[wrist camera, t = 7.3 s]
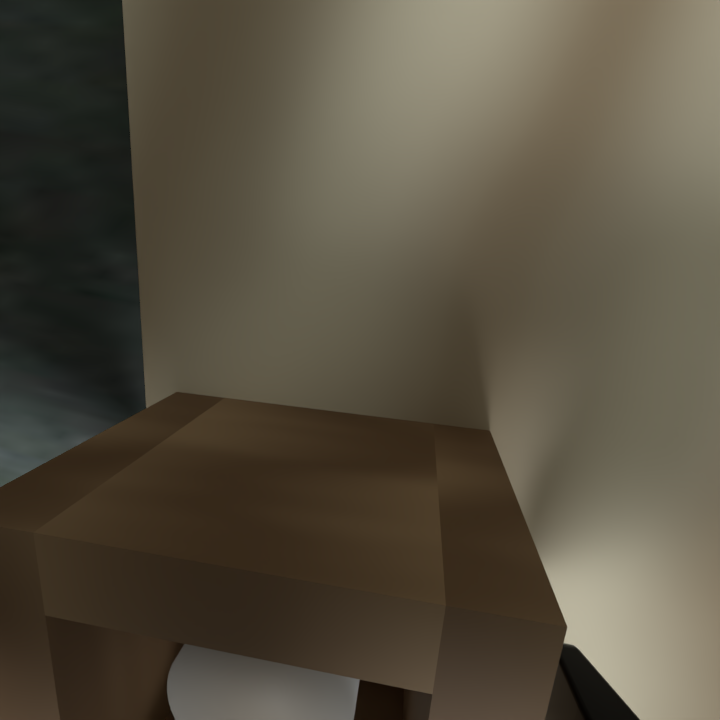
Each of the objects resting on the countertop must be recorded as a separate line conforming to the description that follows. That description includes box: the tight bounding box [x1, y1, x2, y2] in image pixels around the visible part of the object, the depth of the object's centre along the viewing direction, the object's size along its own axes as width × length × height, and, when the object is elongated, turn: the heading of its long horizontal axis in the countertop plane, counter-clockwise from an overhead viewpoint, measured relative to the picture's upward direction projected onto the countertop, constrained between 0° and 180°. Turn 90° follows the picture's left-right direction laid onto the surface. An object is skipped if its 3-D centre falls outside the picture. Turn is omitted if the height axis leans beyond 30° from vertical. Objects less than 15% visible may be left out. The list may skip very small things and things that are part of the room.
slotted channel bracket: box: [0, 392, 567, 720], centre depth 7 cm, size 7×7×4 cm
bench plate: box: [122, 0, 720, 720], centre depth 7 cm, size 15×19×5 cm
